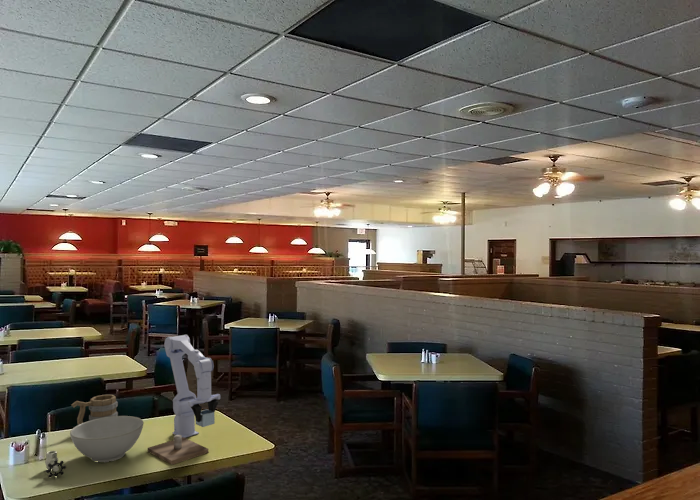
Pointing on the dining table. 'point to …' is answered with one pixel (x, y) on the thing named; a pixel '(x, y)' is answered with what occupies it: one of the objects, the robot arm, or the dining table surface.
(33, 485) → the dining table surface
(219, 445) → the dining table surface
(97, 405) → the tankard
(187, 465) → the dining table surface
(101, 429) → the decorative bowl
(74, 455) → the dining table surface
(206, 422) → the collar
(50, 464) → the valve
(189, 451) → the post board
